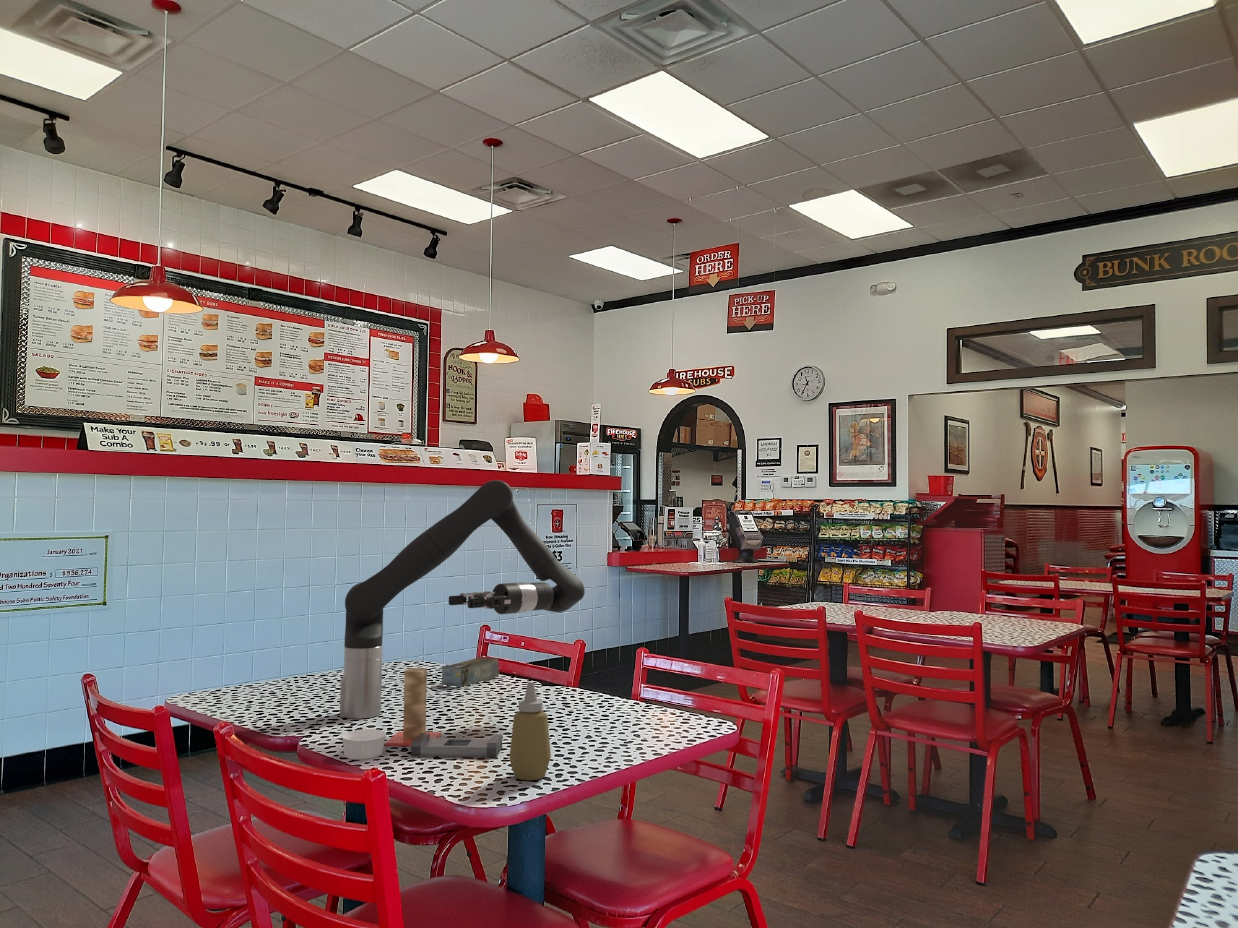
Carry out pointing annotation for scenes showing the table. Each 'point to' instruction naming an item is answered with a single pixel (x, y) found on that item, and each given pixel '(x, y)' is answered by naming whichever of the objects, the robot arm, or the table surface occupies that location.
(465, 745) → the grey piece
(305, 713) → the table surface
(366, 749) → the ramekin
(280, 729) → the table surface
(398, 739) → the red coaster
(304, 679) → the table surface
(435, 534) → the robot arm
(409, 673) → the oak peg
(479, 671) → the beverage carton
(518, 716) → the squeeze bottle
